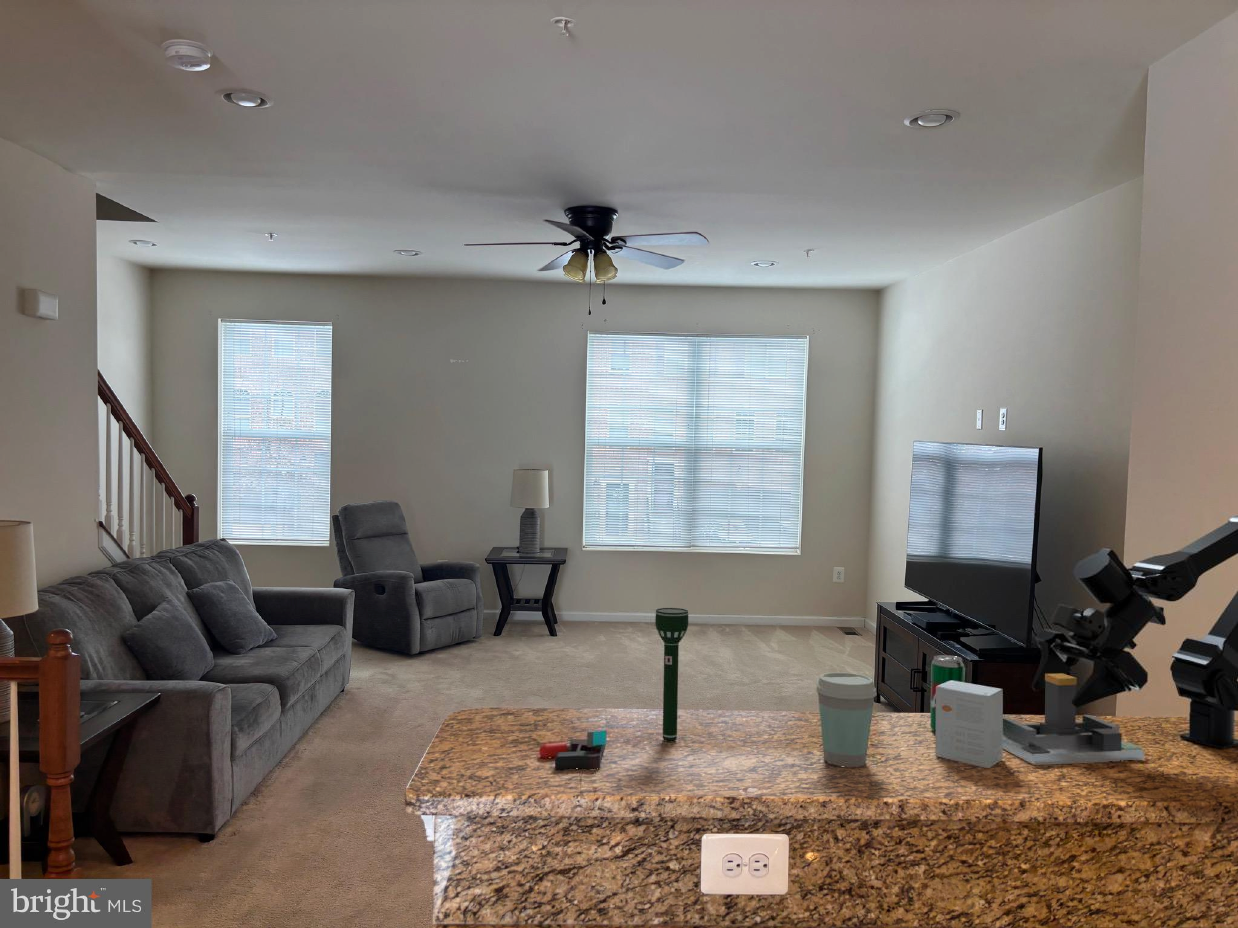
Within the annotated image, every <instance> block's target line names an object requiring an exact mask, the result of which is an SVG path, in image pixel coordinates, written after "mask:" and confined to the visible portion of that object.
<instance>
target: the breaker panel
mask: <svg viewBox="0 0 1238 928" xmlns="http://www.w3.org/2000/svg"><path fill="white" fill-rule="evenodd" d="M1081 719H1082V721H1081V720H1080V721H1076V725H1075V727H1077V728H1080V729H1081V733H1072V734H1048V735H1041V734H1040V722H1035V723H1034V722H1033V723H1031V722H1029V723H1023V722H1019V721H1018V720H1015V719H1013V718H1011V717H1003V750H1005V751H1007V752H1008V753H1010V754H1012V755H1014V756H1016V757H1018V759H1022V760H1024V761H1025V762H1027V763H1029V764H1031V765H1033V766H1045V765H1047V766H1048V765H1065V764H1067V765H1068V764H1070V765H1071V764H1088V763H1089V764H1090V763H1091V764H1092V763H1109V761H1113V762H1128V761H1127V760H1134V761H1144V760H1145V759H1144V756H1145V754H1144V753H1145V752H1144V751H1145V750H1144V749H1143V747H1142V746H1139V745H1137V744H1134V743H1133V742H1130V741H1129V742H1127V741H1126V742H1125V741H1124V740H1122V738H1123V736H1122V735H1123V734H1122V732H1120V726H1118V725H1116V724H1114V723H1111V722H1109V721H1106V720H1104V719H1101V718H1098V717H1096V716H1093V715H1091V714H1082V718H1081ZM1120 760H1121V761H1120ZM1124 760H1126V761H1124Z"/></svg>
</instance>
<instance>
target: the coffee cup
mask: <svg viewBox="0 0 1238 928" xmlns="http://www.w3.org/2000/svg"><path fill="white" fill-rule="evenodd" d="M815 691H816V692H817V696H818V708H819V709H818V711H819V717H820V730H821V738H822V739H821V740H822V753H823V760H824V759H825V760H826V761H827V762H829V763H831V764H834V765H838V766H837V767H839V766H844V767H843V768H846V767H856V768H860V767H859V766H861V767H863V766H864V765H866V763H867V754H868V748H869V747H868V746H869V740H870V732H871V725H872V717H873V709H874V703H875V697H876V696H877V689H876V687H875V685H874V681H873V679H872V678H871V677H869V676H867V675H863V674H859V673H851V672H842V671H841V672H838V671H836V672H835V671H833V672H827V673H826V672H825V673H822V674H820V675H819V679H818V682H817V683H816V688H815ZM825 760H824V761H825ZM826 761H825V762H826ZM827 762H826V763H827ZM829 763H828V764H829ZM831 764H830V765H831ZM834 765H833V766H834ZM862 765H863V766H862Z"/></svg>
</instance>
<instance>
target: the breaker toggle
mask: <svg viewBox="0 0 1238 928" xmlns="http://www.w3.org/2000/svg"><path fill="white" fill-rule="evenodd" d="M1077 679H1078V678H1077V677H1075V676H1072V675H1068V674H1063V673H1060V674H1045V687H1044V689H1045V690H1044V691H1045V692H1044V693H1045V694H1044V721H1040V722H1039V723H1040V734H1041V735H1048V734H1072V733H1081V729H1080V728H1077V727H1075V725H1076V722H1077V721H1076V717H1077V716H1076V715H1077V713H1076V711H1077V710H1076V709H1077V707H1075V706H1074V705H1073V704H1072V700H1073V698H1074V697H1075V695H1076V694H1077V685H1078V683H1077V682H1078V680H1077Z"/></svg>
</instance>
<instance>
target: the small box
mask: <svg viewBox="0 0 1238 928" xmlns="http://www.w3.org/2000/svg"><path fill="white" fill-rule="evenodd" d="M1003 691H1004V690H1003V688H999V687H998V688H997V687H992V686H986V685H981V684H974V683H969V682H965V681H964V682H958V681H953V680H951V681H948V682H945V683H943V684H941V685H938V686H936V732H935V757H938V758H943V759H945V760H951V761H954V762H959V763H964V764H969V765H972V766H975V767H979V768H980V767H981V768H983V769H990V768H992V767H993V766H995V765H996V764H998V763H999V762H1001V761H1002V760H1003V757H1004V753H1003V750H1004V749H1003V718H1004V717H1003V715H1004V714H1003V713H1004V712H1003V711H1004V709H1003V708H1004V707H1003V706H1004V703H1003V702H1004V699H1003V696H1004V694H1003Z"/></svg>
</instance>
